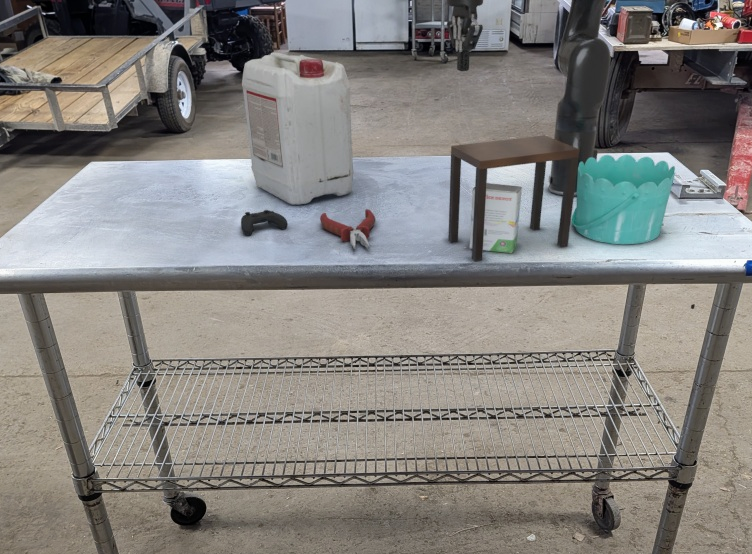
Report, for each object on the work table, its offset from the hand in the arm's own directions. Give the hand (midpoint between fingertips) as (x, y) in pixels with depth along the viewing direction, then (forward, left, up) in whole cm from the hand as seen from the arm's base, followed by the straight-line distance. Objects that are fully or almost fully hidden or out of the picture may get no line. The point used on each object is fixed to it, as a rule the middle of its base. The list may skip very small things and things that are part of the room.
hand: (462, 70), depth 157 cm
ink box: (+9, +35, -27) cm, 45 cm away
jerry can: (+34, -16, -27) cm, 46 cm away
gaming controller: (+49, +7, -27) cm, 56 cm away
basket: (-18, +37, -27) cm, 49 cm away
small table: (+6, +35, -27) cm, 44 cm away
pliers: (+34, +18, -27) cm, 47 cm away
